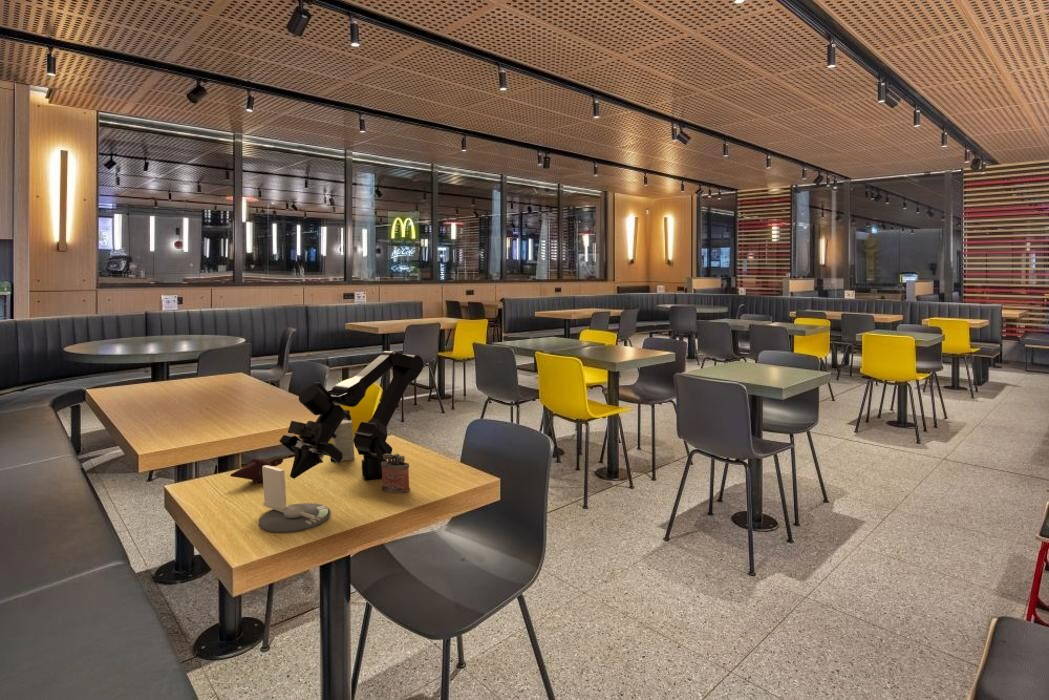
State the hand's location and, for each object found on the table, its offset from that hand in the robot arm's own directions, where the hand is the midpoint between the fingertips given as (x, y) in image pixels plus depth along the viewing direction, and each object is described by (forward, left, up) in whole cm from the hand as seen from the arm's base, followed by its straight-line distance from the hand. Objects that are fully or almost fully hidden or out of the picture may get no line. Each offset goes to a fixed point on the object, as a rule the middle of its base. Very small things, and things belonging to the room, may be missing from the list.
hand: (292, 477), depth 154 cm
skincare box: (-14, -37, -8) cm, 40 cm away
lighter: (-26, -3, -8) cm, 27 cm away
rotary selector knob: (+1, +7, -6) cm, 9 cm away
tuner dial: (-1, +8, -7) cm, 11 cm away
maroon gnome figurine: (+10, -23, -8) cm, 27 cm away
